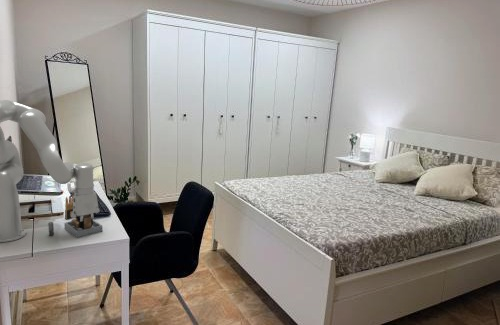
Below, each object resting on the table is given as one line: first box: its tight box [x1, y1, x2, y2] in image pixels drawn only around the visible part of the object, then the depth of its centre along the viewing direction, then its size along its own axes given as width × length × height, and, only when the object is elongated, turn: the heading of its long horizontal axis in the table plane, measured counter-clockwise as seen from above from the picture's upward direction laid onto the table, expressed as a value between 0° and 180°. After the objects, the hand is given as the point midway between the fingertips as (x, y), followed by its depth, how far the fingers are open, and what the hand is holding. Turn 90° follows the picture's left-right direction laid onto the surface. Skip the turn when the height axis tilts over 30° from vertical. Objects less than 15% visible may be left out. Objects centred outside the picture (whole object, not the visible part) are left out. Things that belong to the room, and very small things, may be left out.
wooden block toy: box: [71, 215, 91, 230], centre depth 167 cm, size 6×10×6 cm, turn 48°
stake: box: [47, 221, 55, 237], centre depth 160 cm, size 2×2×6 cm
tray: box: [63, 219, 104, 239], centre depth 168 cm, size 12×14×3 cm
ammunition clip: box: [64, 194, 76, 221], centre depth 182 cm, size 11×2×12 cm, turn 147°
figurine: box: [66, 179, 76, 201], centre depth 196 cm, size 7×9×15 cm
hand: (86, 226), depth 166 cm, fingers closed on wooden block toy, 3 cm apart
